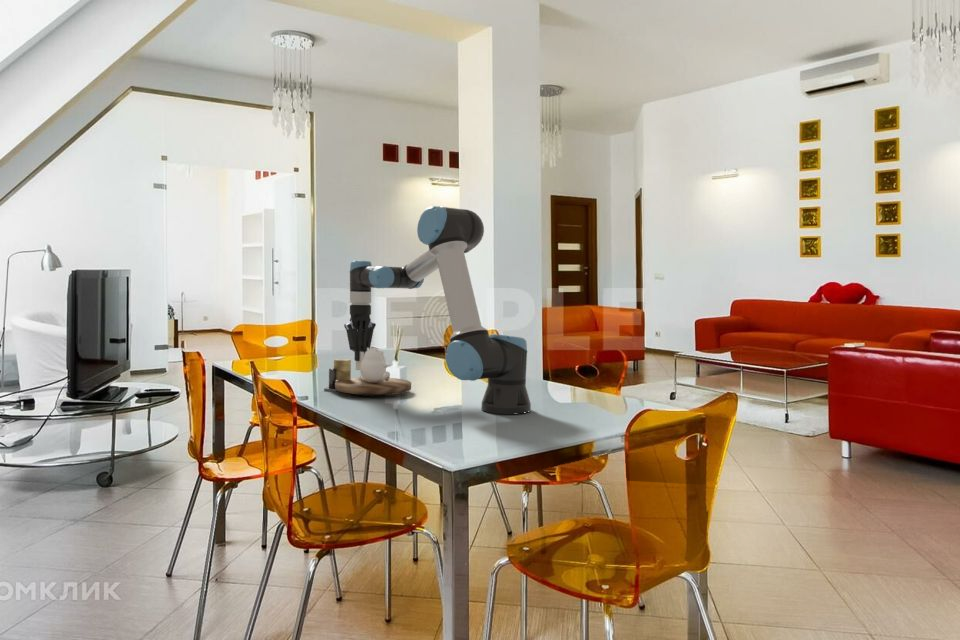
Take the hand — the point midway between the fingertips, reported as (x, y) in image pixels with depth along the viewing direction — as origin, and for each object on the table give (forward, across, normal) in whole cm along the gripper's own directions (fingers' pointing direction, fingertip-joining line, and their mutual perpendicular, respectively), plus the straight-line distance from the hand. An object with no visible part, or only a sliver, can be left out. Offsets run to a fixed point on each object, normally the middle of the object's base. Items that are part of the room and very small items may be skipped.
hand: (359, 369), depth 245 cm
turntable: (+5, +3, +11) cm, 12 cm away
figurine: (+3, +3, +11) cm, 12 cm away
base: (+7, +6, +7) cm, 11 cm away
